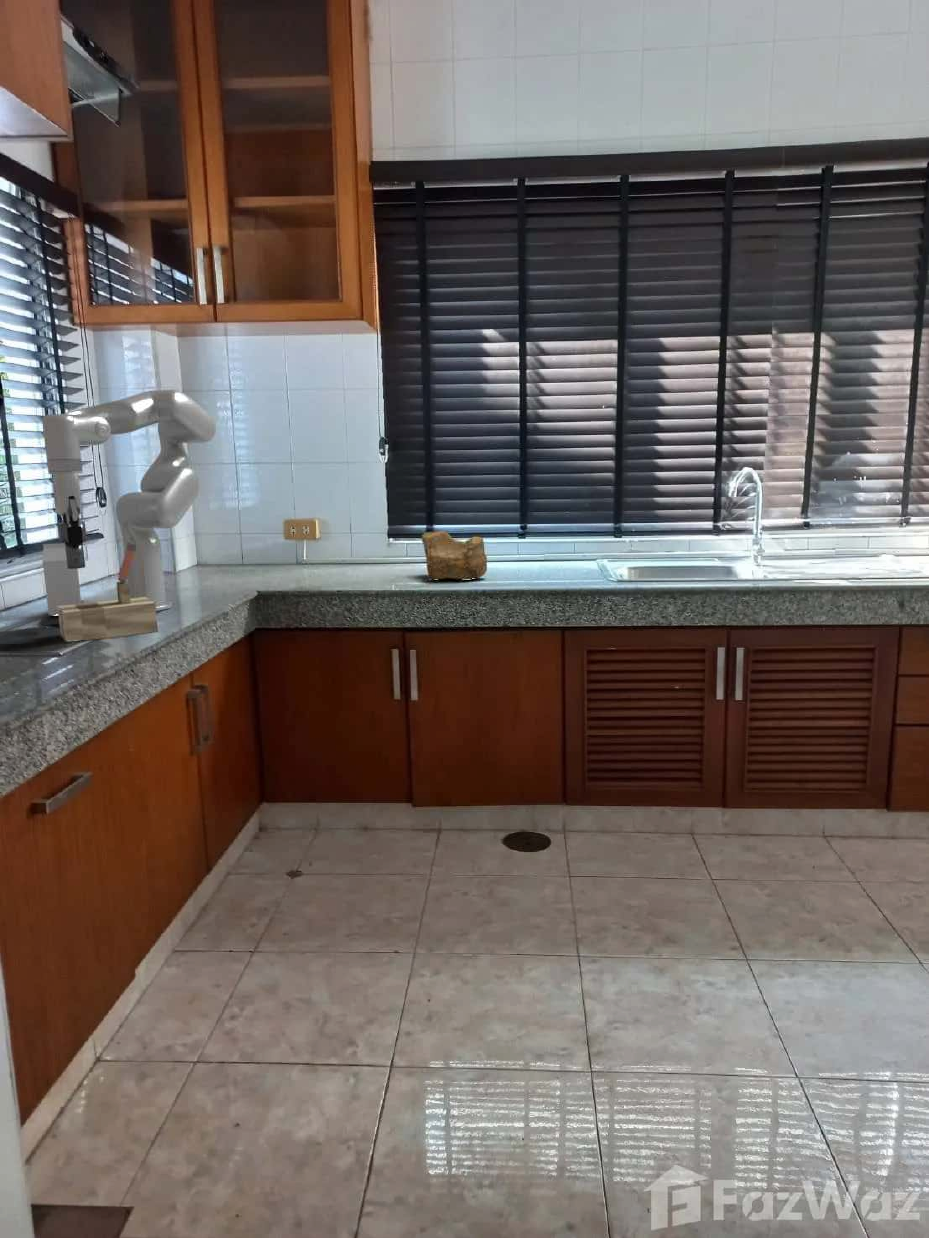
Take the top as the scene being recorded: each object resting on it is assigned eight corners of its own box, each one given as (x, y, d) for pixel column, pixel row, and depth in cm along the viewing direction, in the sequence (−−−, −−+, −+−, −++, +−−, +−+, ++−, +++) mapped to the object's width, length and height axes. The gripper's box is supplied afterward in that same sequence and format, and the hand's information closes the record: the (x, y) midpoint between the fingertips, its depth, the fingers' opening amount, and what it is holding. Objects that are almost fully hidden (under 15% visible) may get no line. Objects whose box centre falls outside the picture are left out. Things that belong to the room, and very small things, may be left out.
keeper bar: (127, 542, 202) (132, 543, 203) (117, 580, 202) (122, 581, 203) (132, 543, 198) (136, 545, 199) (121, 582, 199) (126, 583, 199)
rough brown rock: (403, 583, 273) (401, 537, 269) (430, 571, 287) (429, 528, 282) (465, 590, 262) (464, 543, 257) (490, 578, 275) (490, 533, 271)
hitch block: (60, 635, 200) (55, 586, 198) (148, 624, 211) (143, 577, 208) (67, 643, 192) (61, 592, 189) (157, 631, 202) (153, 583, 200)
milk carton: (78, 616, 222) (70, 544, 219) (49, 617, 221) (40, 545, 217) (82, 611, 229) (74, 541, 225) (53, 612, 227) (45, 542, 223)
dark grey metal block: (61, 567, 208) (56, 522, 205) (87, 564, 211) (82, 521, 209) (65, 570, 203) (59, 524, 201) (91, 567, 206) (86, 522, 204)
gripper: (42, 467, 207) (51, 540, 211) (53, 468, 193) (62, 547, 197) (76, 466, 211) (84, 537, 215) (88, 467, 197) (96, 544, 201)
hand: (73, 541), depth 206 cm, fingers closed on dark grey metal block, 6 cm apart
